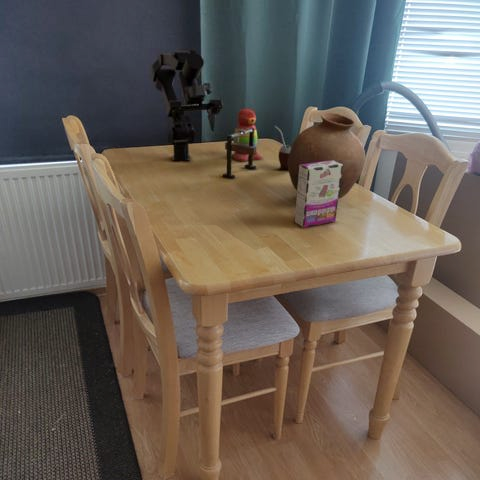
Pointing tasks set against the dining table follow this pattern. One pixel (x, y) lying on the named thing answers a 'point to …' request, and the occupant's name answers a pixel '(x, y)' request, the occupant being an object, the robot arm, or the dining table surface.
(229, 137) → the clothes rail
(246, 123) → the stacking bear
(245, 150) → the hanger
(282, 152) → the mate gourd
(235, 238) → the dining table surface
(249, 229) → the dining table surface
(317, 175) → the candy bar box
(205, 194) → the dining table surface
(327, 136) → the pottery
